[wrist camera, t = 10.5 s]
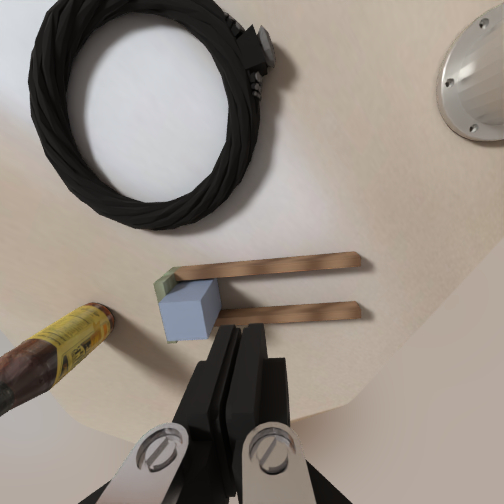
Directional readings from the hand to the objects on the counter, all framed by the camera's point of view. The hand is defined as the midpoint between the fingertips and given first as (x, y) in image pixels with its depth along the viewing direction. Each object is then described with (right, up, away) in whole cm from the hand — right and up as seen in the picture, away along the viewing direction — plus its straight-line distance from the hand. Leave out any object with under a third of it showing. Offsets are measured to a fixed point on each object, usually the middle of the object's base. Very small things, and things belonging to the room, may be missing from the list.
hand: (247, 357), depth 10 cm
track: (+2, -1, +26) cm, 26 cm away
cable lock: (-11, +21, +22) cm, 33 cm away
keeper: (-7, -2, +27) cm, 28 cm away
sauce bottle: (-24, -6, +31) cm, 39 cm away
